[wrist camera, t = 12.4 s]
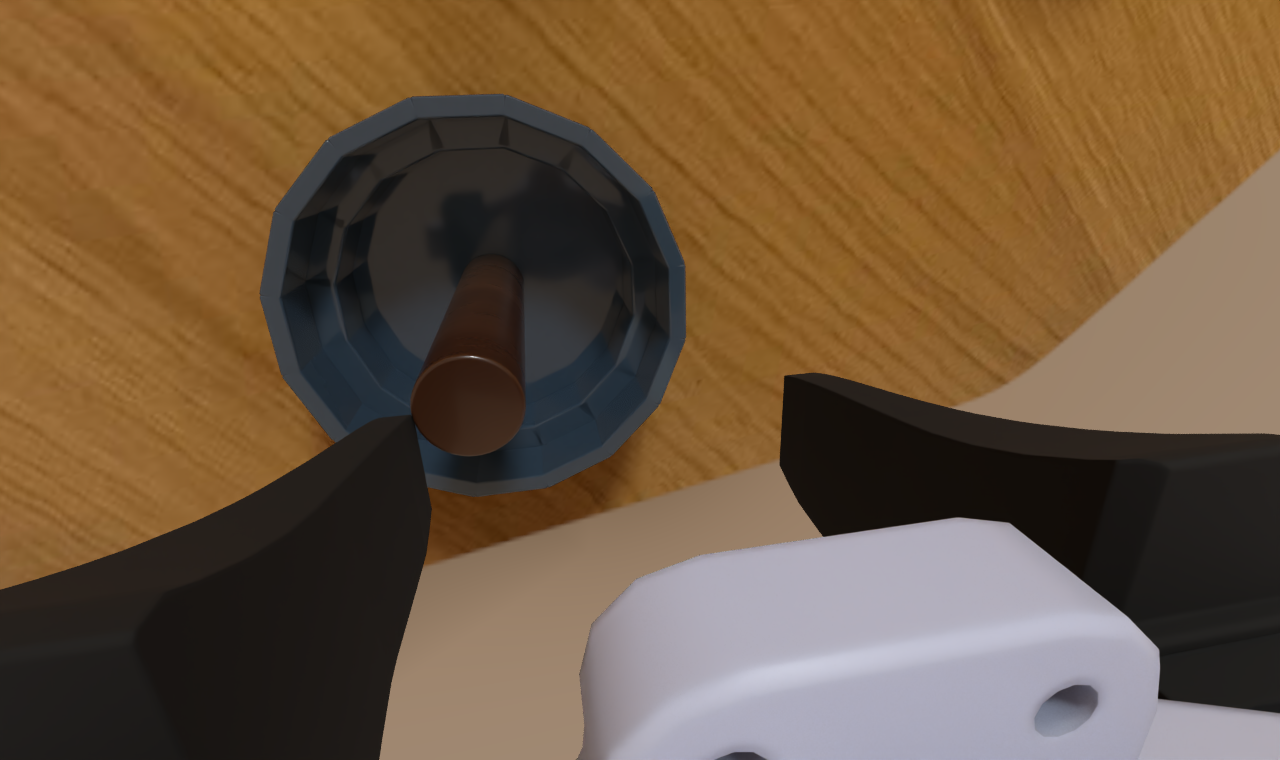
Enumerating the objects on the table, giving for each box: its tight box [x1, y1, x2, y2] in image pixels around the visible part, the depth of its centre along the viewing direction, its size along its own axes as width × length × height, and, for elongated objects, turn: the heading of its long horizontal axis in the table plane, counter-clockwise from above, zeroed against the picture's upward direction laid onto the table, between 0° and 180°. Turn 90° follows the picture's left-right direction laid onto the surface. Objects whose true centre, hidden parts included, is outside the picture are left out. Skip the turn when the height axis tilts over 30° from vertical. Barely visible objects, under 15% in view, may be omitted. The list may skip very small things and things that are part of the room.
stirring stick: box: [410, 254, 526, 456], centre depth 15 cm, size 2×2×10 cm
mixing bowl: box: [260, 94, 686, 497], centre depth 18 cm, size 11×11×4 cm
